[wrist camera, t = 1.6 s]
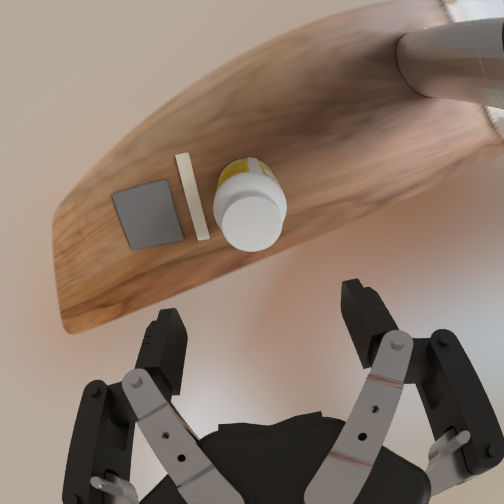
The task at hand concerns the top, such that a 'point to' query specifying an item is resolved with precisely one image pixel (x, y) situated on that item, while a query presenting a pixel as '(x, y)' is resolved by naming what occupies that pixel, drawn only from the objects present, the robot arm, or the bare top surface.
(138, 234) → the mat
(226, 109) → the top surface
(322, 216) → the top surface
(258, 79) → the top surface
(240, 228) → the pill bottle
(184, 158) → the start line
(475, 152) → the top surface
